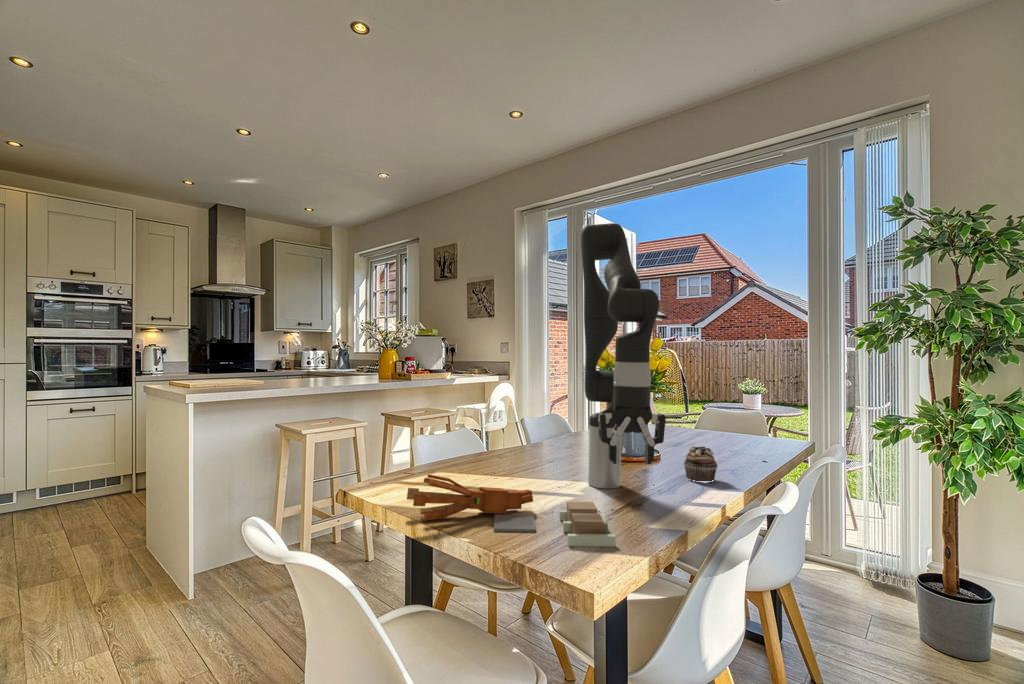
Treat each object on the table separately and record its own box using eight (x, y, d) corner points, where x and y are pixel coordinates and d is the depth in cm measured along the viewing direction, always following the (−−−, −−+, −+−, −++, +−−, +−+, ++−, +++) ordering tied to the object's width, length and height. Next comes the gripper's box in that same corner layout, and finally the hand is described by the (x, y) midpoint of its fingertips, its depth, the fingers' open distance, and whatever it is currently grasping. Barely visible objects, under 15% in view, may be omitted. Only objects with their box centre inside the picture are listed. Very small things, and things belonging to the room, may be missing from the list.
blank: (571, 534, 105) (571, 513, 105) (599, 534, 105) (599, 513, 105) (573, 543, 100) (574, 521, 100) (603, 544, 100) (603, 521, 100)
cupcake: (677, 476, 154) (677, 444, 154) (703, 475, 157) (704, 443, 157) (696, 485, 145) (696, 451, 145) (724, 483, 147) (724, 449, 148)
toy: (399, 502, 115) (512, 498, 129) (410, 533, 106) (531, 525, 119) (407, 465, 113) (521, 465, 127) (418, 493, 103) (541, 489, 117)
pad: (494, 517, 114) (494, 514, 114) (533, 517, 114) (533, 514, 114) (493, 531, 105) (493, 528, 105) (535, 532, 105) (535, 529, 105)
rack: (559, 518, 114) (559, 499, 114) (600, 519, 114) (600, 499, 114) (567, 545, 98) (568, 523, 98) (615, 546, 98) (615, 523, 98)
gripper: (660, 383, 107) (659, 459, 107) (594, 381, 107) (593, 458, 106) (672, 385, 99) (670, 468, 99) (601, 384, 99) (599, 467, 99)
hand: (630, 463), depth 103 cm, fingers open, 6 cm apart
